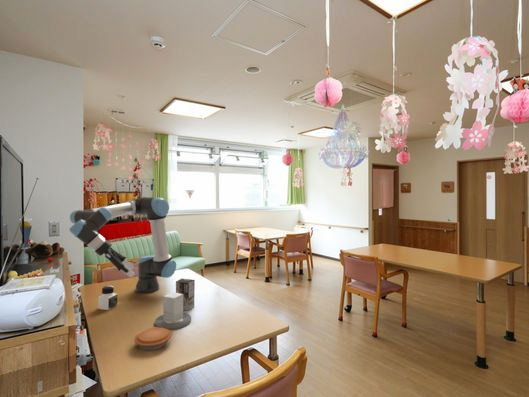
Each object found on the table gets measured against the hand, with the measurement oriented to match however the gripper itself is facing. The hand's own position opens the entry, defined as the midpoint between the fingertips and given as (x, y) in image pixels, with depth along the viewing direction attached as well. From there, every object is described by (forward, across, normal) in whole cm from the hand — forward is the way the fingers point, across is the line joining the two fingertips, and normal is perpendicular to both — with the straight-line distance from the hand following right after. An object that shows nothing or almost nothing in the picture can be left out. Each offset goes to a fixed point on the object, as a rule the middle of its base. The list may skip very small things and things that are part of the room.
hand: (132, 272), depth 150 cm
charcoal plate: (+31, +11, -4) cm, 34 cm away
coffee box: (+38, -5, +2) cm, 38 cm away
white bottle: (+9, -22, -27) cm, 36 cm away
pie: (+24, +30, -12) cm, 40 cm away
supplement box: (+30, +11, -3) cm, 33 cm away
